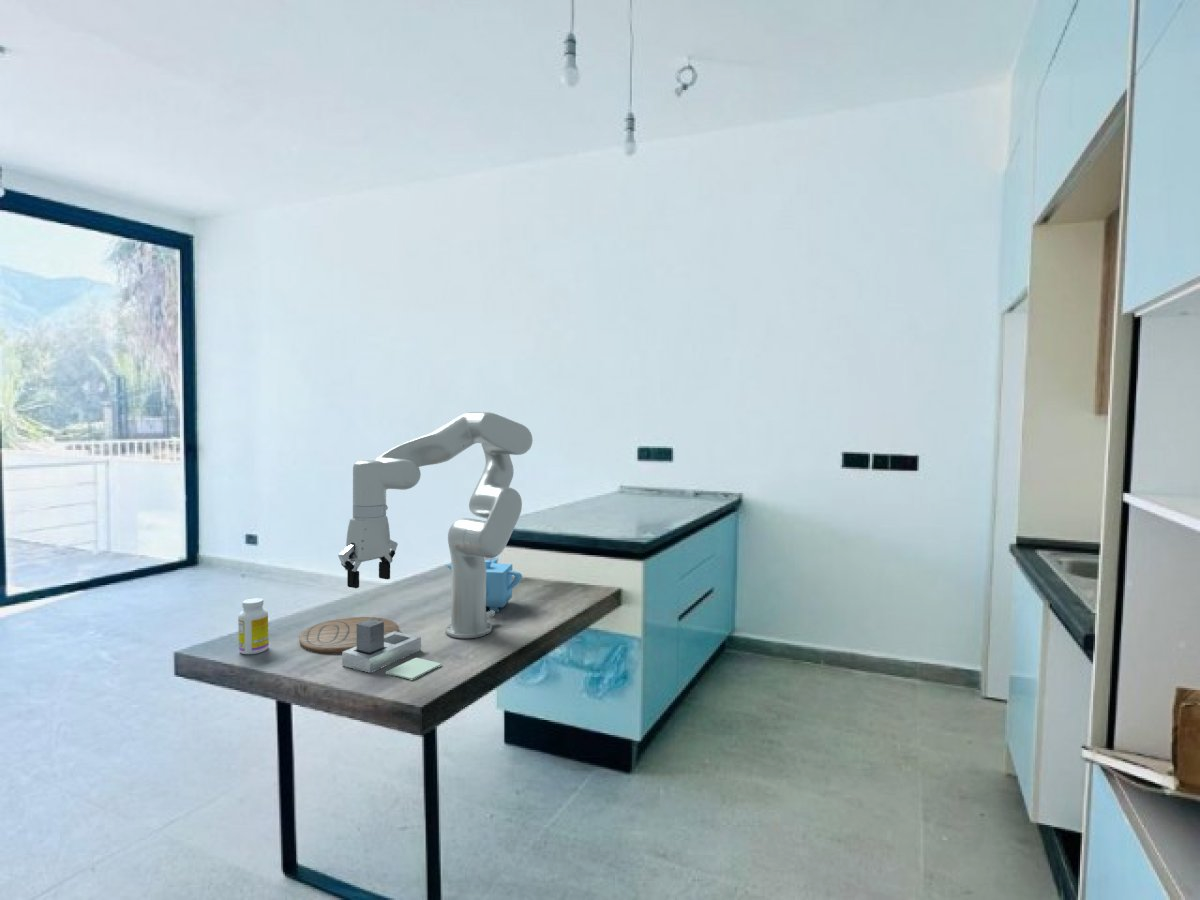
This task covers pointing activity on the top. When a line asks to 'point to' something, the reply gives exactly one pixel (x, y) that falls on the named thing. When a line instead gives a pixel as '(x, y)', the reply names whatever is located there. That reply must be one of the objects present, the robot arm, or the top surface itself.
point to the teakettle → (499, 583)
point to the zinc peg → (370, 636)
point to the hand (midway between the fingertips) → (369, 582)
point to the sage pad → (413, 668)
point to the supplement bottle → (253, 627)
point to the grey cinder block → (382, 652)
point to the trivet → (338, 634)
